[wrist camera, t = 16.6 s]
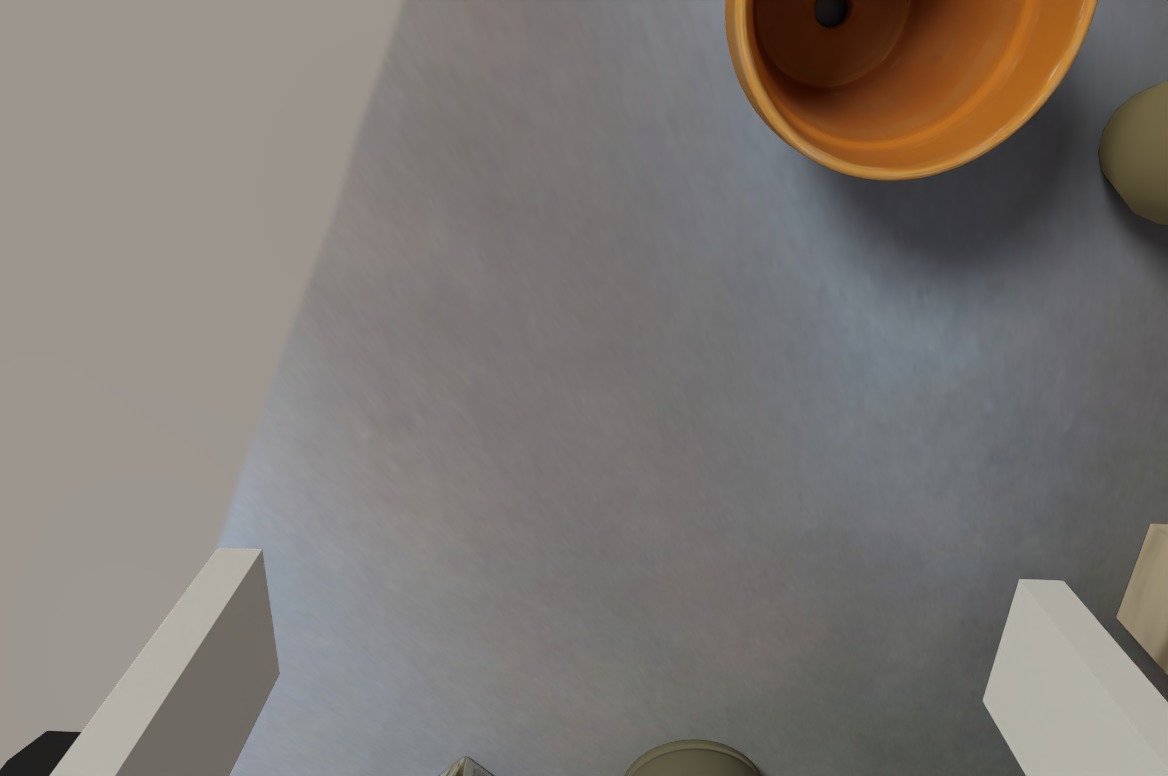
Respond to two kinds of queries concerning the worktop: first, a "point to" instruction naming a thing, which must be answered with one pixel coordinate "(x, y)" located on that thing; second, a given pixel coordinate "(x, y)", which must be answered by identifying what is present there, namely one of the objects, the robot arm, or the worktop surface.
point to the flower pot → (902, 76)
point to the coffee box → (466, 769)
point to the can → (692, 760)
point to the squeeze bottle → (1139, 153)
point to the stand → (1149, 596)
